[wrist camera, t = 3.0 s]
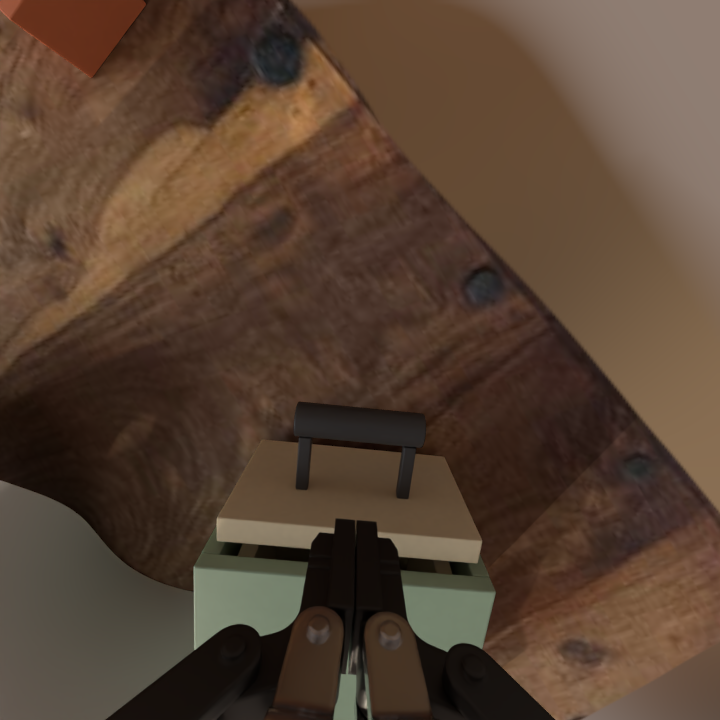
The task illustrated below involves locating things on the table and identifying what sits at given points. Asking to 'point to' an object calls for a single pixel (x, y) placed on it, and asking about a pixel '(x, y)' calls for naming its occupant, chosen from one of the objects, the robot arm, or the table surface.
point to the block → (76, 26)
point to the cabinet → (285, 589)
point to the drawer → (350, 491)
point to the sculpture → (77, 617)
